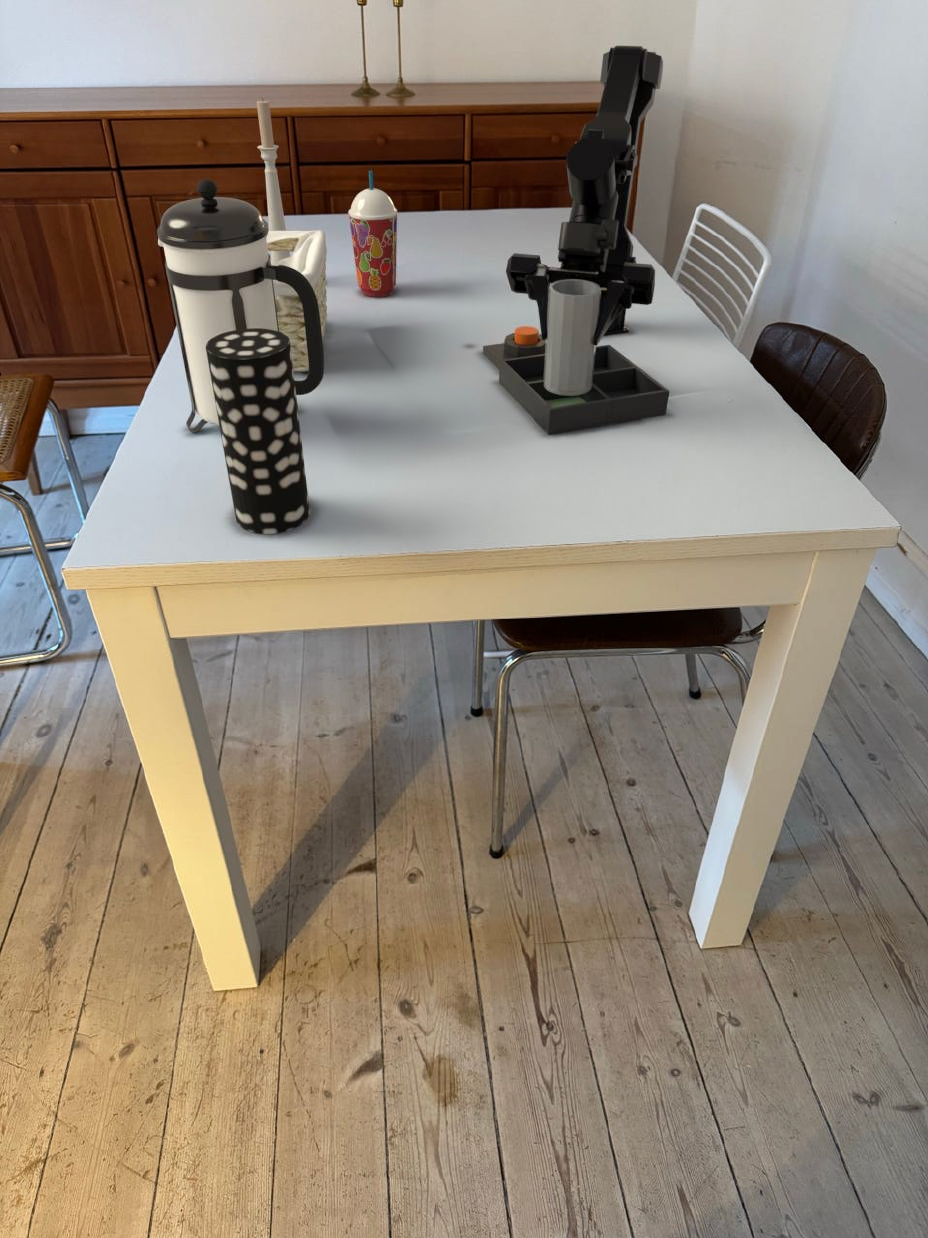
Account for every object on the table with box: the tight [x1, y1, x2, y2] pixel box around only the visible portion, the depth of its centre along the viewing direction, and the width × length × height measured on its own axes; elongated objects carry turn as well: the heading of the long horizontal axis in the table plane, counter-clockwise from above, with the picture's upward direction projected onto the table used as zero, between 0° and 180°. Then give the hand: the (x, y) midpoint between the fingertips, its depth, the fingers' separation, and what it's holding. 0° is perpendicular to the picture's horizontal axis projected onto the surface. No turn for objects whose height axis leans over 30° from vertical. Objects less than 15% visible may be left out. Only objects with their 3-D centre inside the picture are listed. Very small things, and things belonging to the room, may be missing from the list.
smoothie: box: [348, 170, 398, 298], centre depth 158 cm, size 8×8×20 cm
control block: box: [482, 332, 546, 370], centre depth 139 cm, size 11×8×3 cm
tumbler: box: [544, 279, 601, 396], centre depth 118 cm, size 6×6×13 cm
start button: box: [514, 325, 540, 345], centre depth 138 cm, size 4×4×2 cm
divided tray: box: [498, 344, 670, 435], centre depth 128 cm, size 18×18×4 cm
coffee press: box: [156, 178, 325, 434], centre depth 114 cm, size 17×16×30 cm
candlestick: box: [256, 98, 292, 263], centre depth 159 cm, size 13×13×30 cm
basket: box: [267, 229, 328, 372], centre depth 139 cm, size 24×16×15 cm
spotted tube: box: [206, 328, 311, 535], centre depth 98 cm, size 8×8×20 cm
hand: (569, 341), depth 117 cm, fingers closed on tumbler, 6 cm apart
